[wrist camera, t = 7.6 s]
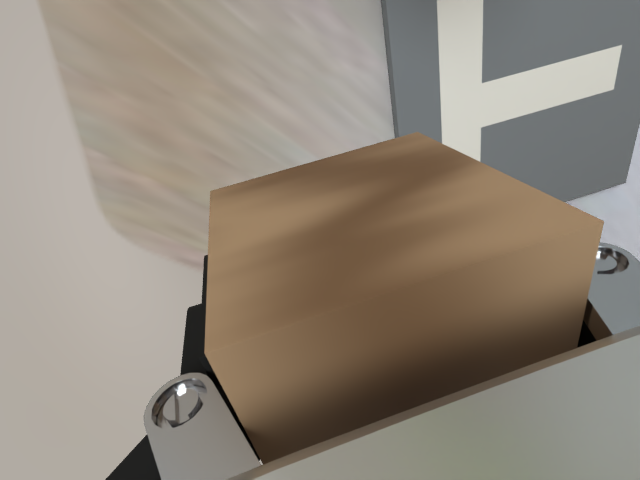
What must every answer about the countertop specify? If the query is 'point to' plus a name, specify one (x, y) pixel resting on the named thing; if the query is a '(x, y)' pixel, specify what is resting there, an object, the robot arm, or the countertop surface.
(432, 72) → the letter board
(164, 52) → the countertop surface
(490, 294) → the wooden block
